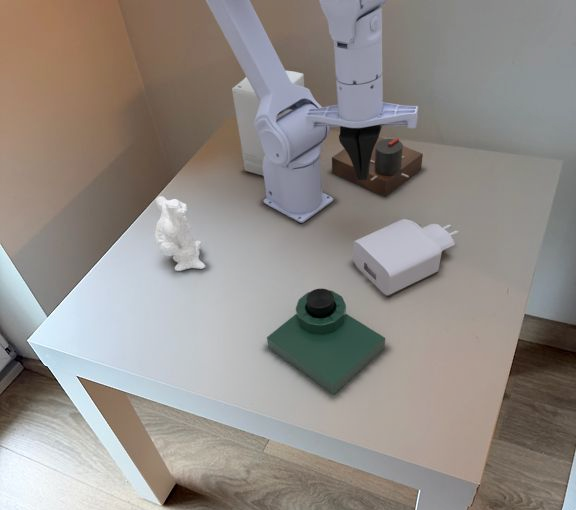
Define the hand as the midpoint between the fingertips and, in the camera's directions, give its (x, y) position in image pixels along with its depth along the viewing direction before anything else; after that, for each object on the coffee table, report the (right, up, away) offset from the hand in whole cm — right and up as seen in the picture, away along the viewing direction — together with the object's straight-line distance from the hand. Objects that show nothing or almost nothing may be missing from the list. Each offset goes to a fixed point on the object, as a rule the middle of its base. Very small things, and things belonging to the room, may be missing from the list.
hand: (363, 176), depth 77 cm
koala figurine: (-27, -10, +9) cm, 30 cm away
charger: (+8, -11, +4) cm, 14 cm away
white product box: (-13, +11, +23) cm, 28 cm away
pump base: (-6, -25, -5) cm, 26 cm away
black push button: (-6, -20, -5) cm, 21 cm away
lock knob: (+6, +6, +13) cm, 16 cm away
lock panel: (+5, +7, +18) cm, 20 cm away
